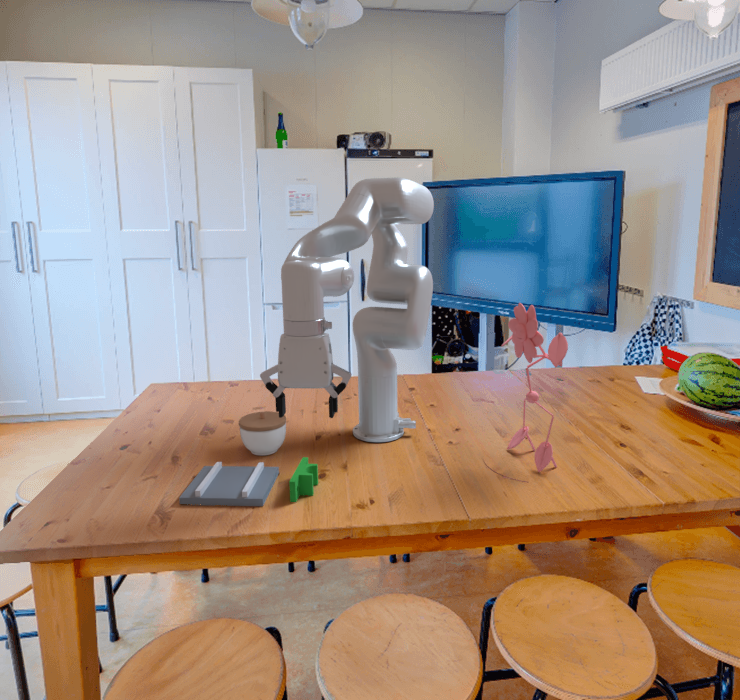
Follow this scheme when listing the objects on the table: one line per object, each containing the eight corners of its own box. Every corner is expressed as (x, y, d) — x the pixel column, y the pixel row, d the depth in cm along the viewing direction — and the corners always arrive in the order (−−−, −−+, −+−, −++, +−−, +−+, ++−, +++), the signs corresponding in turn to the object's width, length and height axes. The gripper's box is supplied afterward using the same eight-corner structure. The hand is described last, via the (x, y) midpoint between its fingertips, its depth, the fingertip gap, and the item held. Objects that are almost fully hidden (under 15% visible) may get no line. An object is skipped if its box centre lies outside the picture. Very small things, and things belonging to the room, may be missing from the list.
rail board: (279, 473, 121) (278, 461, 120) (263, 506, 108) (262, 493, 107) (204, 472, 122) (203, 460, 121) (179, 504, 109) (178, 491, 108)
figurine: (520, 436, 139) (524, 292, 130) (582, 483, 114) (592, 311, 106) (461, 444, 135) (461, 297, 127) (512, 495, 111) (516, 317, 103)
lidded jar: (247, 441, 139) (244, 404, 136) (291, 441, 138) (289, 404, 136) (235, 460, 128) (232, 420, 126) (283, 460, 128) (281, 420, 126)
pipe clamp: (309, 504, 108) (308, 482, 107) (290, 503, 109) (289, 481, 108) (321, 477, 119) (320, 457, 118) (303, 476, 120) (302, 456, 119)
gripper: (352, 324, 109) (353, 409, 113) (262, 324, 110) (267, 408, 114) (348, 331, 102) (350, 422, 106) (252, 331, 103) (257, 421, 107)
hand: (307, 415), depth 110 cm, fingers open, 9 cm apart
